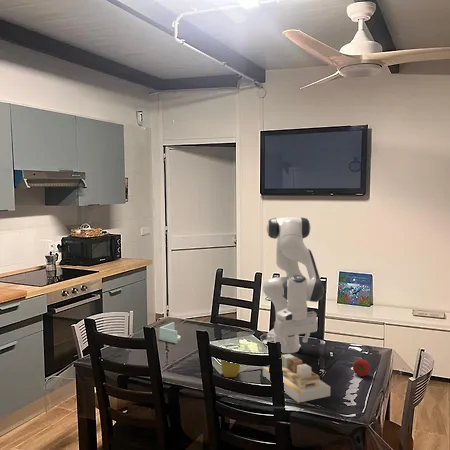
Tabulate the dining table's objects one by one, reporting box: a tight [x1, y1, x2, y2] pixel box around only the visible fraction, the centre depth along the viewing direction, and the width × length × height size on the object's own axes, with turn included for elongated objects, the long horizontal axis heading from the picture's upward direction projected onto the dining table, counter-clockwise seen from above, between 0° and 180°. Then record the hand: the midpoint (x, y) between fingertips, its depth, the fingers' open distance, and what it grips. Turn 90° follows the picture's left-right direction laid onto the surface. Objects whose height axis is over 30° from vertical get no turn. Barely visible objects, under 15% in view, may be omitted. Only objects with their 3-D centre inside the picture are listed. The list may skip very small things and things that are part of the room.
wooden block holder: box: [282, 356, 321, 389], centre depth 218 cm, size 24×9×8 cm, turn 24°
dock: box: [262, 366, 332, 404], centre depth 218 cm, size 30×16×4 cm, turn 24°
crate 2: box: [297, 363, 312, 379], centre depth 211 cm, size 4×4×4 cm
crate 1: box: [280, 353, 295, 368], centre depth 223 cm, size 4×4×4 cm
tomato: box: [352, 358, 371, 378], centre depth 229 cm, size 8×8×8 cm
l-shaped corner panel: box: [159, 321, 182, 345], centre depth 278 cm, size 12×12×8 cm
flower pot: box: [220, 359, 241, 378], centre depth 228 cm, size 9×9×9 cm
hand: (295, 343), depth 217 cm, fingers open, 8 cm apart
